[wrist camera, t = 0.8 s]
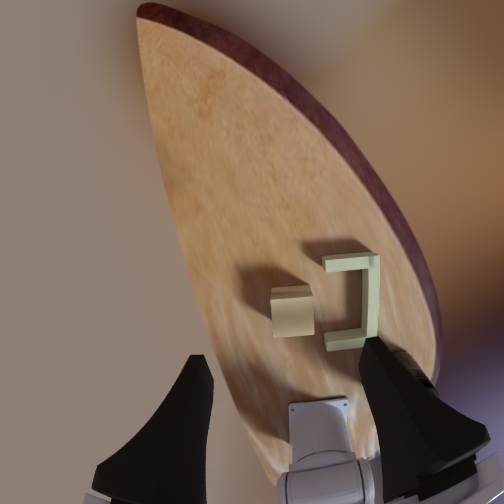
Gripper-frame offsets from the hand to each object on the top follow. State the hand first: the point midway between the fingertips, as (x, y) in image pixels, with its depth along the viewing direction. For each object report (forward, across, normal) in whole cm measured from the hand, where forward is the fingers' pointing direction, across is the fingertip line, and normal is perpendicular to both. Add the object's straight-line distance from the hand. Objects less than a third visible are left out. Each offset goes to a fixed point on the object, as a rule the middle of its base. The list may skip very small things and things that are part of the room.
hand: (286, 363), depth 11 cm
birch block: (+15, -2, +10) cm, 18 cm away
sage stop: (+15, -8, +10) cm, 19 cm away
